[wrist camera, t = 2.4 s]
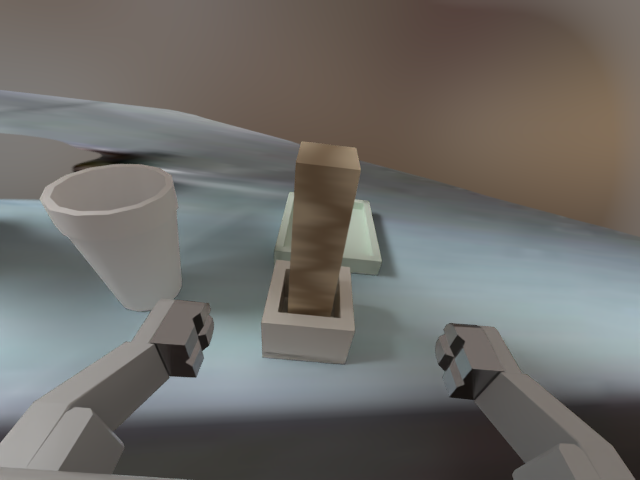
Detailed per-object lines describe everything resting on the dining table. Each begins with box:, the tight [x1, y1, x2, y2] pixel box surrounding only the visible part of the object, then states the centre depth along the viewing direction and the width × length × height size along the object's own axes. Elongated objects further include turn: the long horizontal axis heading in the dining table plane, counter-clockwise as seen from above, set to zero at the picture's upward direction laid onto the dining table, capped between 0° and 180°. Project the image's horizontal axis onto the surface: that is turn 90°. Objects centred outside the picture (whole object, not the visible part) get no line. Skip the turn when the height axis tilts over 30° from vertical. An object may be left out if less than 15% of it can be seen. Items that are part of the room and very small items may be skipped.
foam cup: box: [40, 164, 182, 312], centre depth 28 cm, size 10×9×13 cm
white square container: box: [261, 260, 355, 365], centre depth 28 cm, size 8×8×6 cm
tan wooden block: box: [287, 142, 361, 317], centre depth 24 cm, size 4×4×18 cm
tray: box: [274, 192, 382, 275], centre depth 43 cm, size 14×16×2 cm
